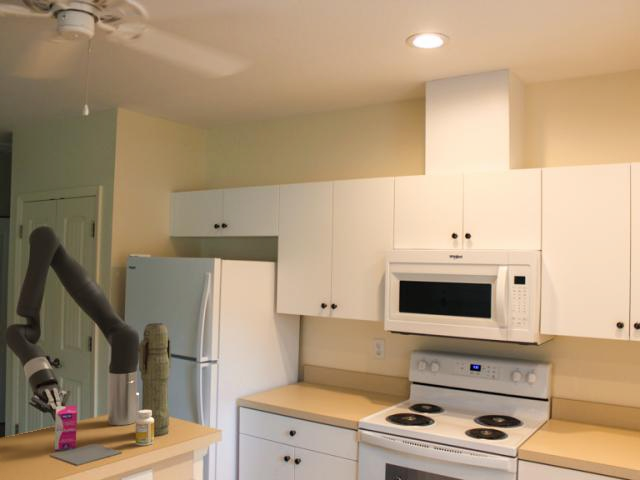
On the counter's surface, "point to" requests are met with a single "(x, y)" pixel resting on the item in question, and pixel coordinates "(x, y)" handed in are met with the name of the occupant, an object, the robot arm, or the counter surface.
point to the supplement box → (65, 427)
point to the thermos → (155, 374)
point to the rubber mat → (85, 454)
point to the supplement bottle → (144, 428)
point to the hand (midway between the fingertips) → (60, 421)
